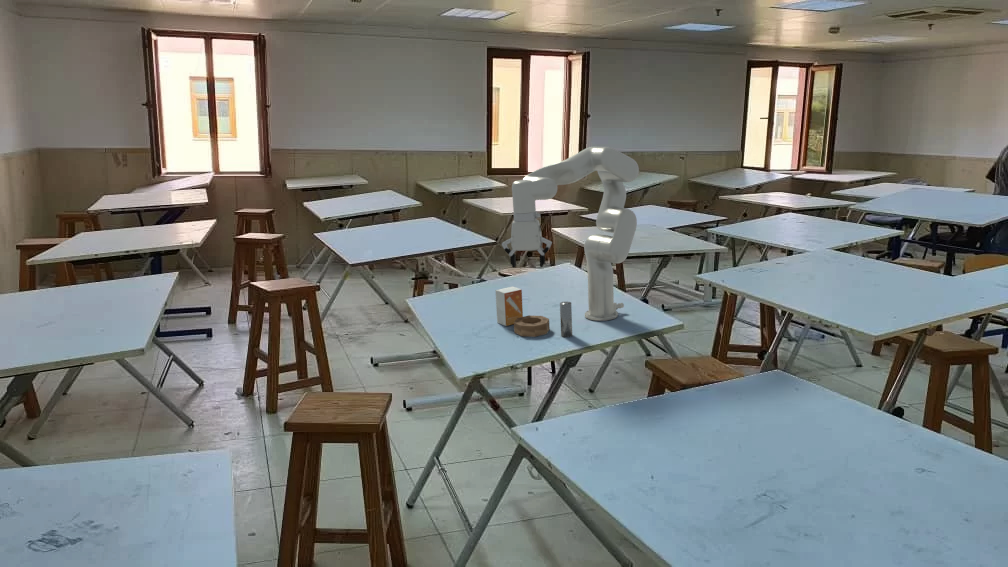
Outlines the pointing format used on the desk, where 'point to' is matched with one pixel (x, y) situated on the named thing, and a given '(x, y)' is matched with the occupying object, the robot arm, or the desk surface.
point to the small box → (508, 305)
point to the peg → (566, 319)
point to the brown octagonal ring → (531, 326)
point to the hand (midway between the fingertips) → (528, 266)
